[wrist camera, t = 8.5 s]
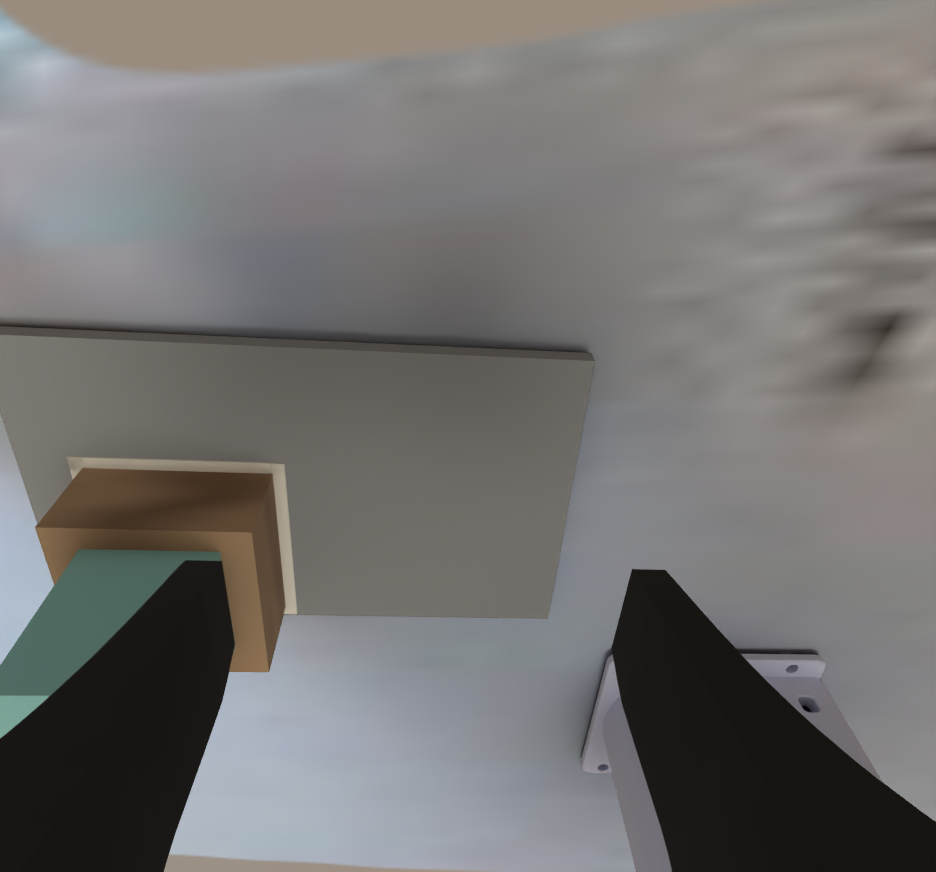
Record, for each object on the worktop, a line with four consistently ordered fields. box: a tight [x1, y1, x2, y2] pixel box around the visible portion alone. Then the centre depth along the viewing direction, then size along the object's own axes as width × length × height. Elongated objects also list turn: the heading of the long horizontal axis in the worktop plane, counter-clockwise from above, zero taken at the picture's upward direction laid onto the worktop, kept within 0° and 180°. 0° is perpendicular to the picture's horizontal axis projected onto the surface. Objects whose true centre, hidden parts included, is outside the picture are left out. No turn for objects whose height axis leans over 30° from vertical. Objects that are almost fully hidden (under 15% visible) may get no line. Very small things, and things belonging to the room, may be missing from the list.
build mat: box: [0, 326, 595, 619], centre depth 23 cm, size 18×11×1 cm, turn 86°
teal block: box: [0, 549, 236, 738], centre depth 19 cm, size 4×4×5 cm
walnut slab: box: [35, 468, 286, 672], centre depth 22 cm, size 6×6×3 cm
